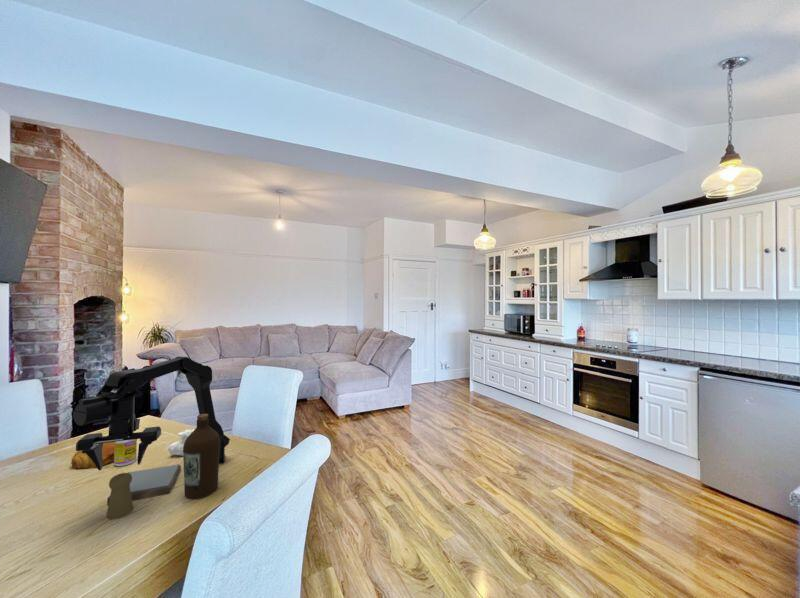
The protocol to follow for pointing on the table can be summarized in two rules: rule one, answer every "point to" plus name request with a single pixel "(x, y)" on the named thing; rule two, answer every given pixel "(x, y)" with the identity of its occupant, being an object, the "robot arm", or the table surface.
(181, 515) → the table surface
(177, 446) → the bust
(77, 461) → the croissant
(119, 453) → the supplement bottle
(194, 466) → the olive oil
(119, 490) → the brown rounded upright piece
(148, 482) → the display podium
